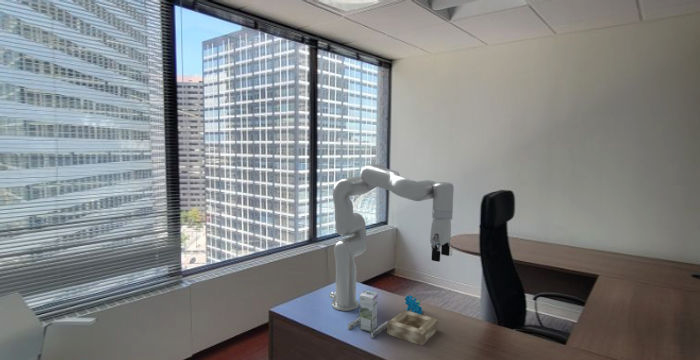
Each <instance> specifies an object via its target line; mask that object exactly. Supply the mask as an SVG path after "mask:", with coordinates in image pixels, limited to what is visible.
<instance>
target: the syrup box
mask: <svg viewBox="0 0 700 360" xmlns="http://www.w3.org/2000/svg"><path fill="white" fill-rule="evenodd" d="M378 297H379V296H378V293H377V292H373V291H368V290H363V291H362V292H361V294H360V295H359V317H360V321H359V324H358V325H359V327H358V329H359V330H362V331H366V332H370V333H371V332H373V331H374V330H375V329H377V328H378V301H379V300H378Z"/></svg>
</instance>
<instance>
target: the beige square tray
mask: <svg viewBox="0 0 700 360" xmlns="http://www.w3.org/2000/svg"><path fill="white" fill-rule="evenodd" d="M410 311H411V310H409V311H407V310H406V309H404V310H402V311H401V312H399V314H397V315H396V316H394V317H393V318H392V319H390V320H389V321H387V322H388V323H387V328H386V334H387V335H389V336H392V337H395V338H398V339H401V340H404V341H406V342H410V343H413V344H415V345H418V346H424V345H425V344H426V342H428V340H429V339H430V338H431V337H433V335H435V333H436V332H437V331H438V327H439V326H438V324H439V323H438V321H439V319H437V318H433V317H430V316H427V315H423V314H418V313H415V312H410Z"/></svg>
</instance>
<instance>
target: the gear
mask: <svg viewBox="0 0 700 360" xmlns="http://www.w3.org/2000/svg"><path fill="white" fill-rule="evenodd" d="M404 300H405V302H404V304H405V305H407V306H406V309H405V310H407V311H410V312H414V313H417V314H421V315H423V311H422V310H423V307H422V306H420V305H421V301H420V300H418V301H417V298H416V297H413V295H406V296H405V298H404Z"/></svg>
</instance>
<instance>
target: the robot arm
mask: <svg viewBox="0 0 700 360" xmlns="http://www.w3.org/2000/svg"><path fill="white" fill-rule="evenodd" d="M375 188H380V189H384V190H387V191H390V192H391V193H393V194H395V195H396V196H398V197H401V198H403V199H408V200H409V201H414V202H423V201H426V200H431V199H432V211H431V212H432V216H431V218H432V221H431V228H430V236H429V237H430V238H429V239H430V240H429V242H430V244H431V261H432V262H441V255H442V256H446V257H450V247H451V246H450V245H451V243H450V242H451V235H452V223H451V222H452V221H451V220H453V212H454V211H453V210H454V209H453V207H454V185H453V183H451V182H445V181H444V182H443V181H441V182H440V181H439V182H437V181H434V180H433V181H432V180H426V179H425V180H419V181H416V180H411V179H409V178H405V177H402V176H400V173H399V172H398V171H396V170H394V169H389V168H387V167H386V166H385V165H383V164H381V163H375V164H373V163H372V164H367V165H364V166H363V167H362V169H360V173H359V176H350V177H344V178H340V180H338V181H337V182H336V183H335V184H334V185H333V189H332V199H333V200H332V201H333V205H334V221H335V222H334V223H335V230H336V233H337V234H338V235H339V236H341V237H342V236H345V238H341V239H340V240H338V241H337V242H336V243H335V244H334V248H333V254H334V260H335V291H334V292H333V291H331V292H330V295H329V298H330V299H332V301H331V307H332V308H333V309H335V310H337V311H340V312H341V311H342V312H351V311H354V310H356V309H358V308H360V301H359V300H357V264H356V262H355V258H356V257H359V256H360V255H363V254H364V252H366V250H367V246H368V242H367V241H368V240H367V228H366V220H365V218H364V216H362V215H363V214H360V213H359V212H354V205H353V201H352V200H351V197H354V196H361V195H365V194H367V193H369V192H371V191H372V190H374V189H375ZM346 236H347V237H346Z"/></svg>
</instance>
